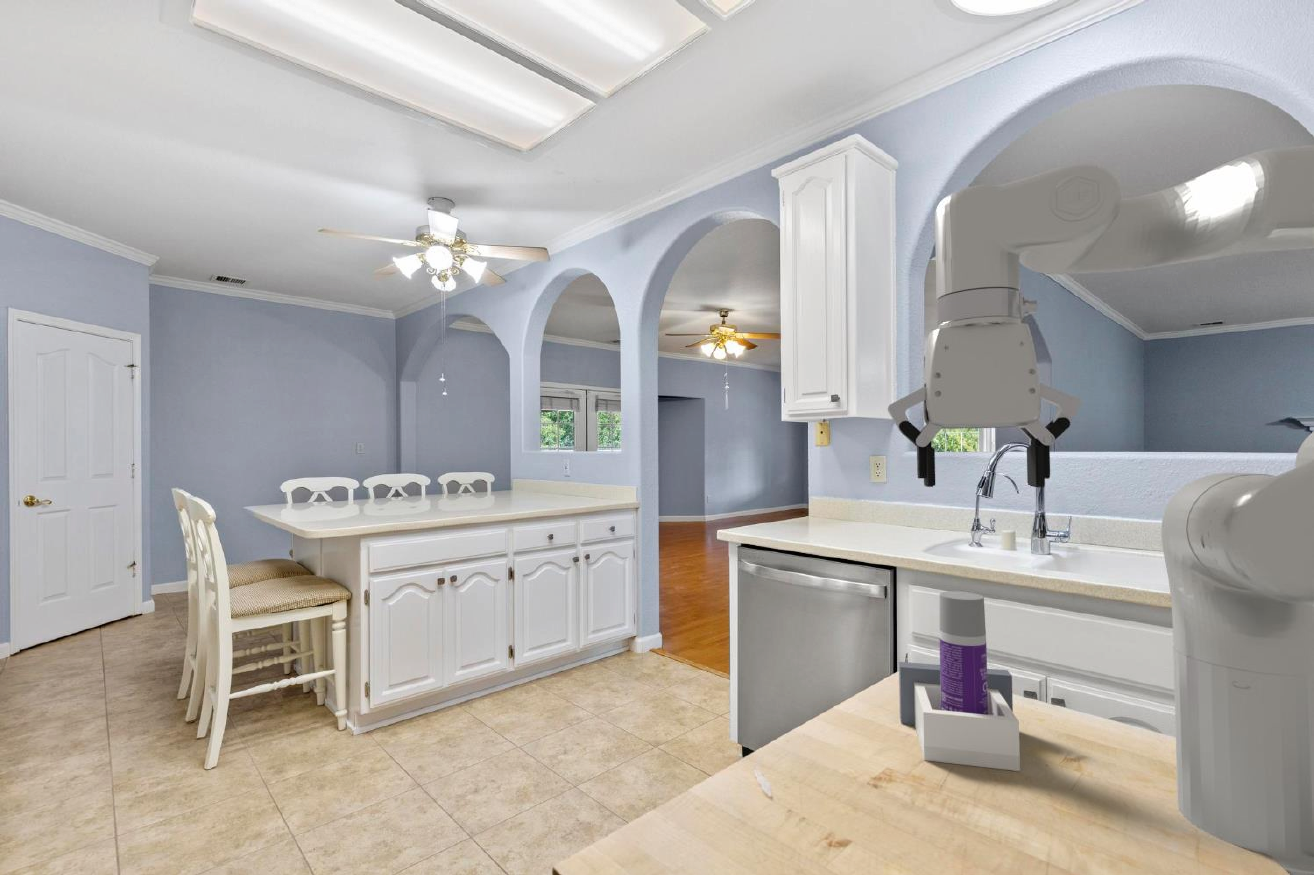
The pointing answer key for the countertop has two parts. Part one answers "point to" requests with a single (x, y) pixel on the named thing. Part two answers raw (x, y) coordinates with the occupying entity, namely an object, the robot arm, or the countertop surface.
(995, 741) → the socket block
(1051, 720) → the countertop surface
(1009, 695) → the track
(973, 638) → the container
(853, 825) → the countertop surface
